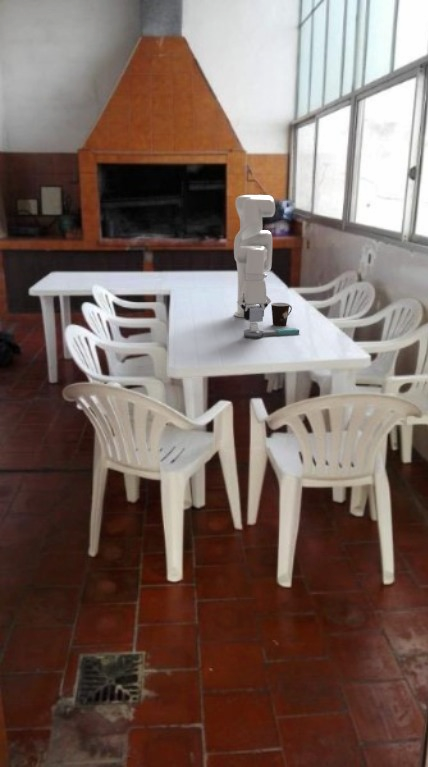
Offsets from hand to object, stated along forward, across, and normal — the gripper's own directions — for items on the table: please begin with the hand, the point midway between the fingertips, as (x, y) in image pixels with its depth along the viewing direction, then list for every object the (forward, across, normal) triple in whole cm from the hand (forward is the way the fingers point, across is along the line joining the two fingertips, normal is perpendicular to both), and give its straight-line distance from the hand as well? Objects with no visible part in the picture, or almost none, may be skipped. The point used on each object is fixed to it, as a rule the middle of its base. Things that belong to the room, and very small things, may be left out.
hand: (253, 318), depth 255 cm
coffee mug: (+8, -22, -18) cm, 30 cm away
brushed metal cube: (+1, 0, 0) cm, 1 cm away
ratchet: (+8, -9, 0) cm, 12 cm away
